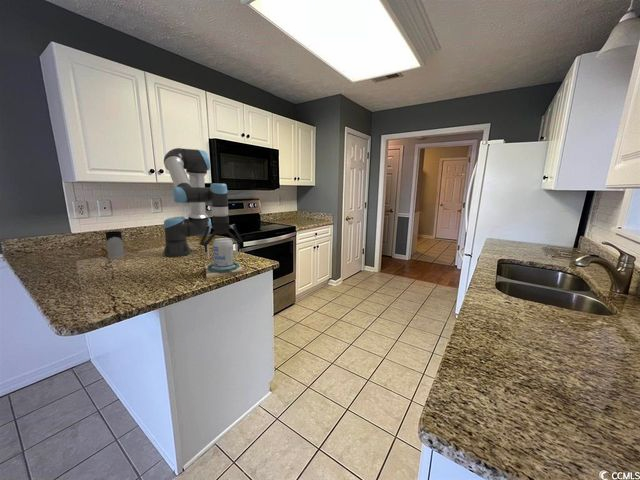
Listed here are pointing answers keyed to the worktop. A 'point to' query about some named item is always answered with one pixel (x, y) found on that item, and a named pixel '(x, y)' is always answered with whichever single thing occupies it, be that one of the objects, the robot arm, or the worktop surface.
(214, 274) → the nest board
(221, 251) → the supplement tub
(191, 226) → the robot arm
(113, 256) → the glass holder
